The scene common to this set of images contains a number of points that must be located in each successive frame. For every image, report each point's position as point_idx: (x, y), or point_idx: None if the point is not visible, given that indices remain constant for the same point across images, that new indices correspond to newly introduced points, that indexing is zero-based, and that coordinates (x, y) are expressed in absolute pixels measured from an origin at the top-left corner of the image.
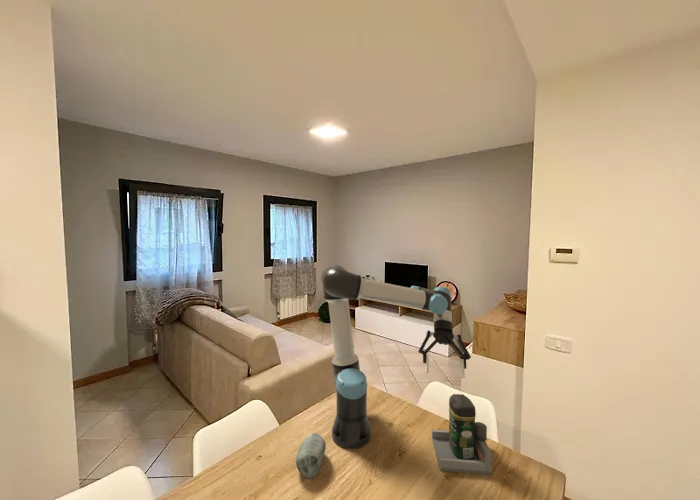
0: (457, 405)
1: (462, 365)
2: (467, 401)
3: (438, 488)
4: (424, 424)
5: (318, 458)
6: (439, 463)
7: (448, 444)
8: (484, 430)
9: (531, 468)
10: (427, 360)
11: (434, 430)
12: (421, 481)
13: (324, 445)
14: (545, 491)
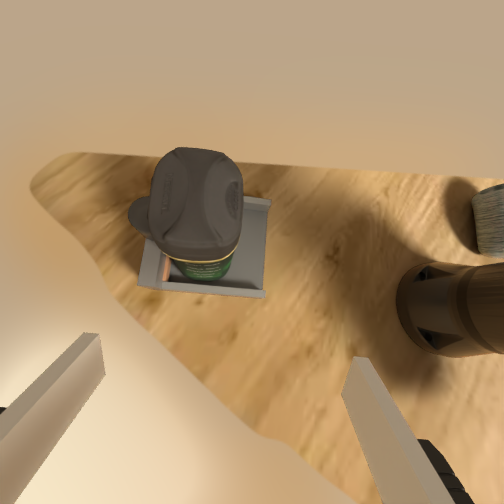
0: (229, 169)
1: (15, 418)
2: (174, 184)
3: (280, 174)
4: (265, 357)
5: (497, 192)
6: (266, 215)
7: (229, 269)
8: (145, 198)
9: (67, 207)
10: (416, 450)
11: (258, 294)
12: (305, 188)
13: (500, 219)
14: (85, 157)
